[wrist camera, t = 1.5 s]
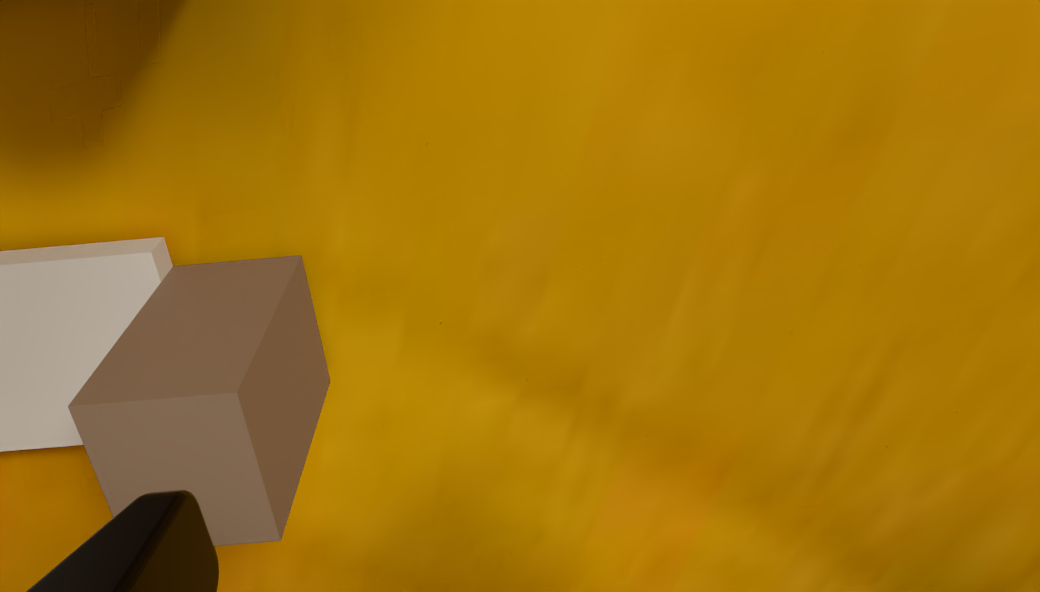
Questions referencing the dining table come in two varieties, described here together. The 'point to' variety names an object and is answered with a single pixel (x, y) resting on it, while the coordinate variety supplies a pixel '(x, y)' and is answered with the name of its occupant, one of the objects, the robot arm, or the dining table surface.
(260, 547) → the dining table surface
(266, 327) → the cream lane
